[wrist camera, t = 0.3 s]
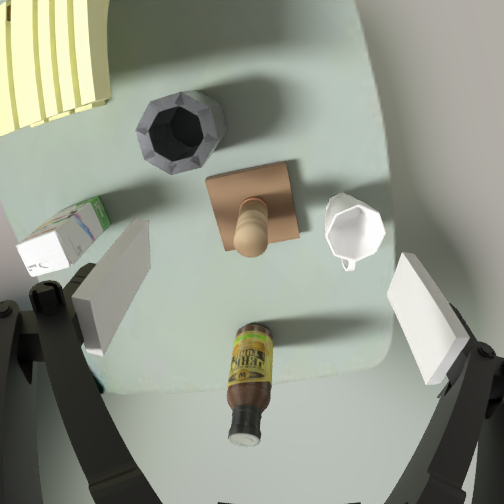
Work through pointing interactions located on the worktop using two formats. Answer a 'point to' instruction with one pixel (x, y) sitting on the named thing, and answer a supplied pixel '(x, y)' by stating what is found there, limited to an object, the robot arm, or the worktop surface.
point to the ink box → (64, 237)
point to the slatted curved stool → (51, 60)
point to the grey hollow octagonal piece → (162, 139)
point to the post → (253, 208)
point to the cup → (352, 229)
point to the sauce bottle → (249, 383)
